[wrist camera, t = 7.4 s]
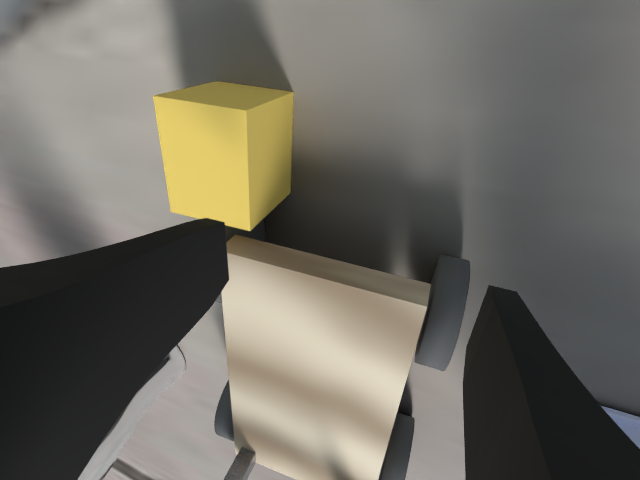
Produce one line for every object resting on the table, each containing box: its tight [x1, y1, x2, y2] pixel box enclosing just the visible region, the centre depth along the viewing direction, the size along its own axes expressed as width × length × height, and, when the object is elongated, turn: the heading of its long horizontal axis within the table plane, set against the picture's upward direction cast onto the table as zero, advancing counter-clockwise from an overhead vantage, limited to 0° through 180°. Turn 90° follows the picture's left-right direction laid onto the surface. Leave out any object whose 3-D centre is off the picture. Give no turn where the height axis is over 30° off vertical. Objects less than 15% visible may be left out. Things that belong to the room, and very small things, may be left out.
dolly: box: [214, 220, 470, 480], centre depth 20 cm, size 17×12×10 cm
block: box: [153, 81, 294, 231], centre depth 17 cm, size 5×4×4 cm
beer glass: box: [78, 345, 186, 480], centre depth 25 cm, size 7×7×15 cm
